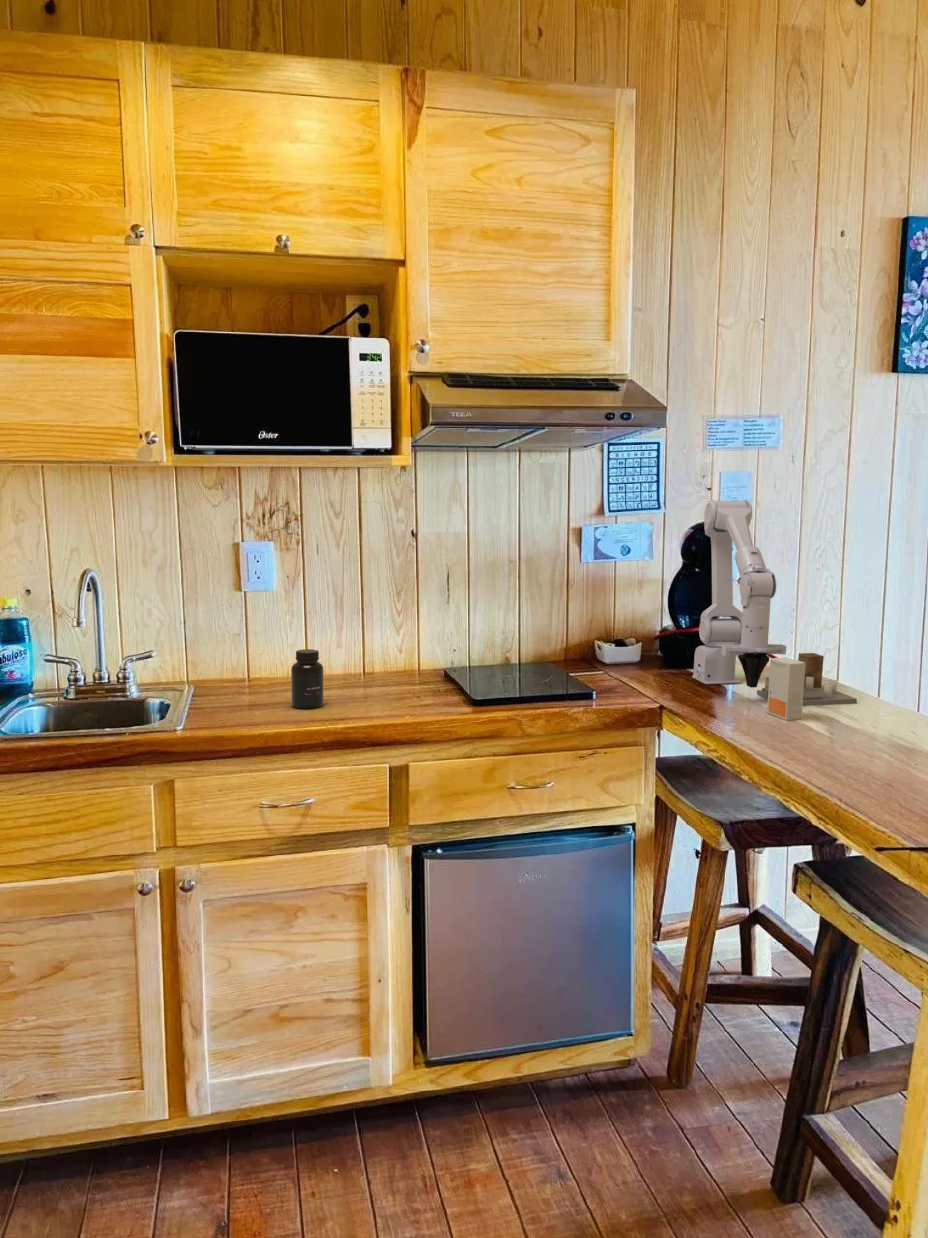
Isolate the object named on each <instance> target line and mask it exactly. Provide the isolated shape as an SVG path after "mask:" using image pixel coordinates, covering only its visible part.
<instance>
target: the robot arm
mask: <svg viewBox="0 0 928 1238" xmlns="http://www.w3.org/2000/svg"><path fill="white" fill-rule="evenodd" d="M703 514H704V516H703V518H704V522H703V524H704V535H706V537H709V538H710V544H711V547H710V548H711V605H710V606H708V608H706V609H705V610H703V611H702V613H701V615H700V620H699V621H700V622H699V627H698V633H699V635H698V636H699V638H700V640H701V642H702V643H703V644H704V645H699V646H697V647H696V648H695V651H694V655H693V657H694V660H693V675H691V677H692V678H693V679H695V680H697V681H698V682H701V683H703V684H705V685H719V684H724V685H725V684H742V680H740V679H738V678H736V677H735V675H736V661H737V658H738V660H739V662H740V664H741V667H742V669H743V673H744V677H745V682H746V687H748V688H758V684H759V680H760V678H761V676H762V673H763V671H764V669H765V667H766V666H767V664H768V663H770V656H768V655H786V654H787V646H786V645H784V644H782V643H781V644H774V643H773V644H772V643H771V644H769V634H770V633H769V632H770V617H771V600H772V599H773V598H774V597H775V595H776V592H777V579H776V575H775V572H773V571H771V569H770V568H767V567H766V564H765V561H764V558H763V555H762V553H761V550H760V548H759V547H757V546H754V543H753V539H752V535H751V530H750V526H751V521H752V518H753V507H752V504H751V503H750V501H749V500H748V499H746V500H715V499H711V500H709V501H708V502H707V503H706V505H705V510H704V513H703ZM733 545H734V547H735V550H736V553H735V554H734V561H735V564H736V566H737V570H738V574H739V577H740V580H739V587H738V588H739V594H740V605H741V606H742V611H741V610H740V609H738V608H737V607H736V606H735V605H734V598H733V597H734V596H733V595H734V593H733V592H734V591H733V590H734V588H733V586H734V585H733V583H734V581H733V577H734V575H733ZM715 617H719V618H715ZM720 617H727V618H720Z"/></svg>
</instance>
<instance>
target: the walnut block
mask: <svg viewBox="0 0 928 1238" xmlns="http://www.w3.org/2000/svg"><path fill="white" fill-rule="evenodd" d="M824 659H825V658H824V655H821V654H818V653H815V652H802V653H801V652H799V653H798V658H797V660H798V661H801V662H805V663H806V665H805V678H804V688H806V677H813V678H814V682H813V688H822V685H823V684H822V683H823V682H822V681H823V670H824Z"/></svg>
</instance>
